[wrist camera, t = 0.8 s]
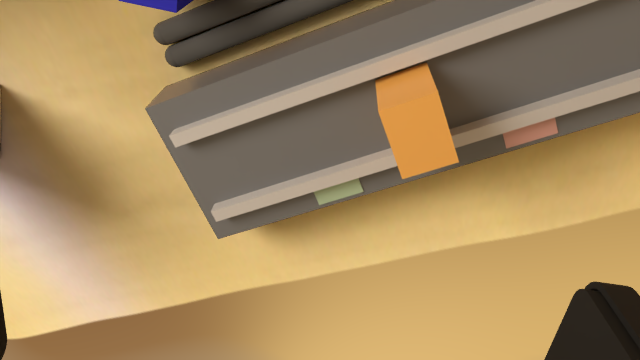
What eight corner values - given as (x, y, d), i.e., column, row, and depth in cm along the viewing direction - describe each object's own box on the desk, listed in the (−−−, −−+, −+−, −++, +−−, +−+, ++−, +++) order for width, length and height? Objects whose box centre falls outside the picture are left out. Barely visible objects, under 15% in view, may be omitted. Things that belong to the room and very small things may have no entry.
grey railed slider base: (643, -94, 30) (693, -90, 26) (661, 73, 34) (706, 101, 30) (165, 86, 37) (139, 114, 32) (229, 208, 41) (214, 247, 36)
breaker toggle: (426, 62, 31) (438, 91, 26) (445, 124, 32) (459, 162, 28) (375, 80, 31) (378, 111, 27) (396, 140, 33) (402, 179, 29)
